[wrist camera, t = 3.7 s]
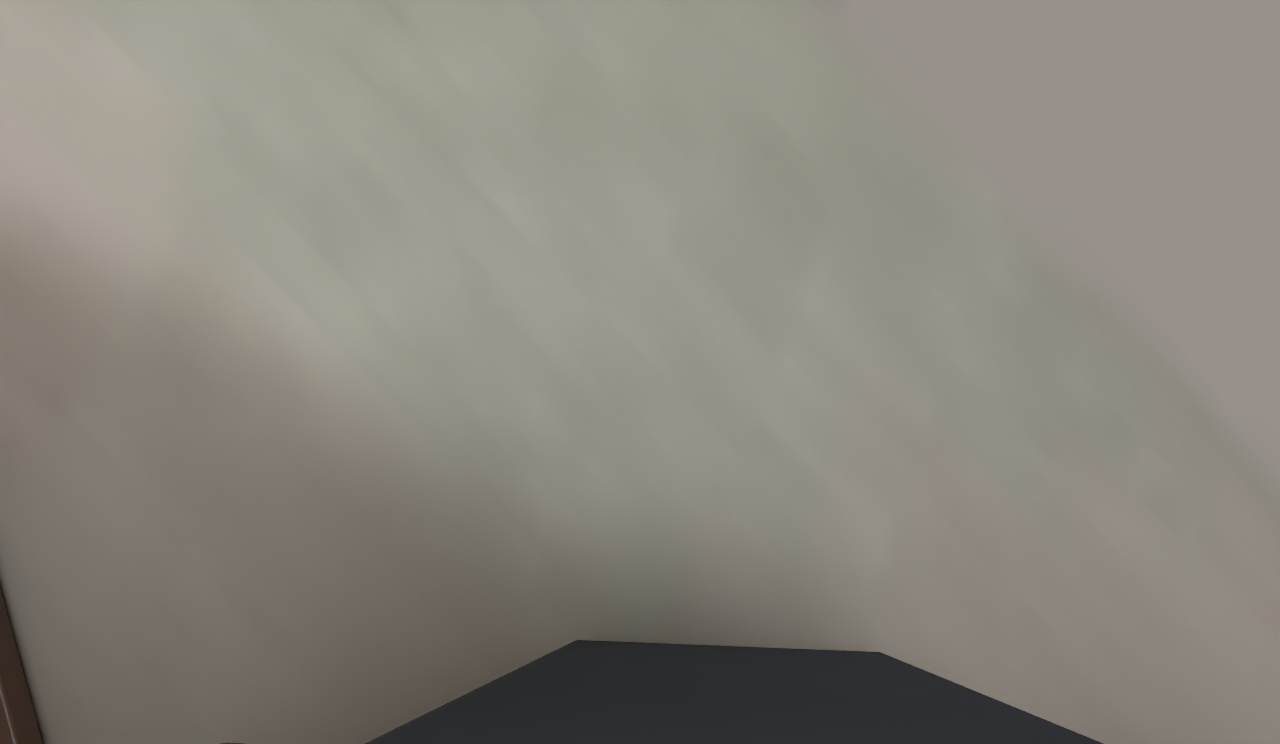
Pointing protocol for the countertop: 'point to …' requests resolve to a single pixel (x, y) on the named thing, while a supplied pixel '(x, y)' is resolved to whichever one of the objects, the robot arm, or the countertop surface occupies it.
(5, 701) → the pad mount
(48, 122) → the countertop surface
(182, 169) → the countertop surface
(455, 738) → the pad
